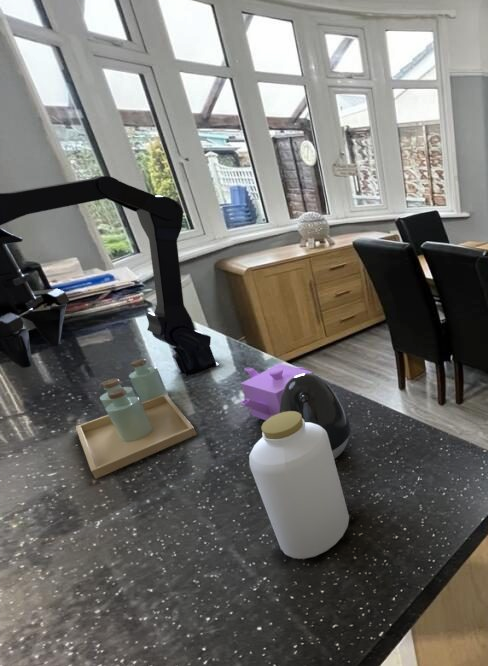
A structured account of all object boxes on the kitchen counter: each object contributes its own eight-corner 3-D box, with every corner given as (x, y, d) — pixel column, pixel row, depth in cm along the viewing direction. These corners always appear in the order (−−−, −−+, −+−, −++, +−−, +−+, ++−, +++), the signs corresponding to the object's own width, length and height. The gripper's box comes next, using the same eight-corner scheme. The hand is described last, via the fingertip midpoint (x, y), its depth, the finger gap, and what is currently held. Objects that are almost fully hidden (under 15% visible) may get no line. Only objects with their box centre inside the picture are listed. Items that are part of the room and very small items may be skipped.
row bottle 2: (150, 423, 74) (130, 382, 70) (156, 432, 71) (135, 390, 68) (118, 435, 71) (96, 393, 67) (123, 445, 68) (101, 401, 65)
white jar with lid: (297, 510, 55) (262, 403, 48) (357, 505, 56) (331, 398, 49) (269, 566, 48) (221, 449, 40) (339, 560, 48) (305, 443, 41)
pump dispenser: (288, 487, 59) (259, 403, 53) (288, 446, 68) (264, 369, 62) (358, 463, 63) (340, 383, 57) (350, 427, 72) (333, 354, 66)
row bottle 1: (143, 412, 77) (123, 372, 73) (148, 420, 74) (129, 380, 71) (113, 423, 74) (91, 382, 70) (117, 432, 71) (95, 390, 68)
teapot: (221, 425, 73) (203, 381, 69) (283, 389, 84) (271, 349, 80) (289, 450, 67) (273, 402, 63) (347, 407, 78) (337, 364, 74)
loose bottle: (165, 390, 85) (149, 354, 82) (171, 397, 83) (154, 360, 79) (139, 400, 82) (121, 362, 78) (144, 407, 79) (125, 369, 76)
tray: (169, 401, 81) (166, 393, 80) (197, 436, 71) (193, 427, 70) (80, 435, 72) (75, 426, 71) (97, 481, 61) (91, 471, 60)
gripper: (-35, 267, 70) (13, 345, 76) (-132, 298, 55) (-63, 392, 61) (50, 259, 74) (88, 333, 81) (-19, 285, 59) (35, 375, 65)
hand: (41, 355), depth 72 cm, fingers open, 9 cm apart
